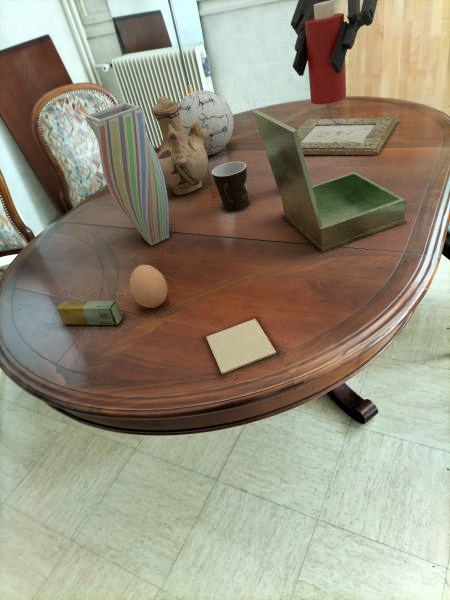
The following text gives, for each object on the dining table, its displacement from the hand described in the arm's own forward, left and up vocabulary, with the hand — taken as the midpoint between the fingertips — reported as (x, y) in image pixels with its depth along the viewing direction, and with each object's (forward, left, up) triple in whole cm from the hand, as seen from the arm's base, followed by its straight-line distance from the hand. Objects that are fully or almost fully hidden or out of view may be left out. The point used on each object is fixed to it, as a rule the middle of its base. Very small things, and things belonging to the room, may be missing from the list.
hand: (316, 69), depth 68 cm
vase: (+26, +33, -32) cm, 53 cm away
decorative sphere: (+74, +5, -32) cm, 80 cm away
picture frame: (+51, -31, -32) cm, 68 cm away
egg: (-1, +38, -32) cm, 50 cm away
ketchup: (+2, -3, -6) cm, 7 cm away
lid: (+6, +4, -17) cm, 18 cm away
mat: (-20, +27, -32) cm, 46 cm away
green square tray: (+6, -6, -32) cm, 33 cm away
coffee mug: (+28, +12, -32) cm, 44 cm away
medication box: (0, +50, -32) cm, 59 cm away
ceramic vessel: (+49, +20, -32) cm, 61 cm away
